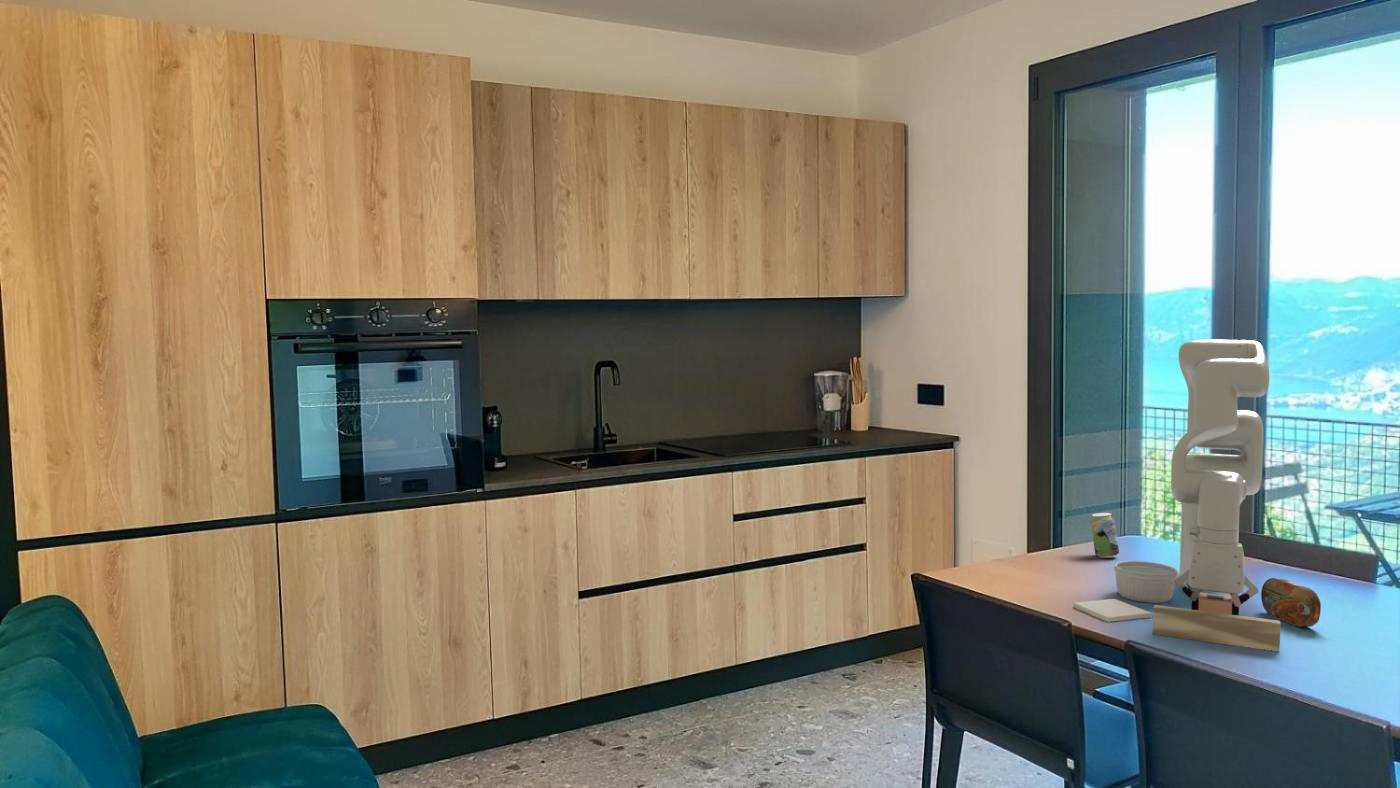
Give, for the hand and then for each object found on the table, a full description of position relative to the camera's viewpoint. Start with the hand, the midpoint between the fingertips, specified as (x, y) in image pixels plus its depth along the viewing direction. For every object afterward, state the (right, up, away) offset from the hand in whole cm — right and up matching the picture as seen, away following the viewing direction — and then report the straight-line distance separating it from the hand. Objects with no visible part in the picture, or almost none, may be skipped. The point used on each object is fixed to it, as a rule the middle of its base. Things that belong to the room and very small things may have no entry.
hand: (1214, 620), depth 198 cm
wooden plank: (-5, -2, -9) cm, 11 cm away
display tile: (-17, 0, +10) cm, 20 cm away
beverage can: (+2, +3, +59) cm, 59 cm away
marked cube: (0, -1, 0) cm, 1 cm away
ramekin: (-4, 0, +22) cm, 22 cm away
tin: (+18, -1, +3) cm, 18 cm away
